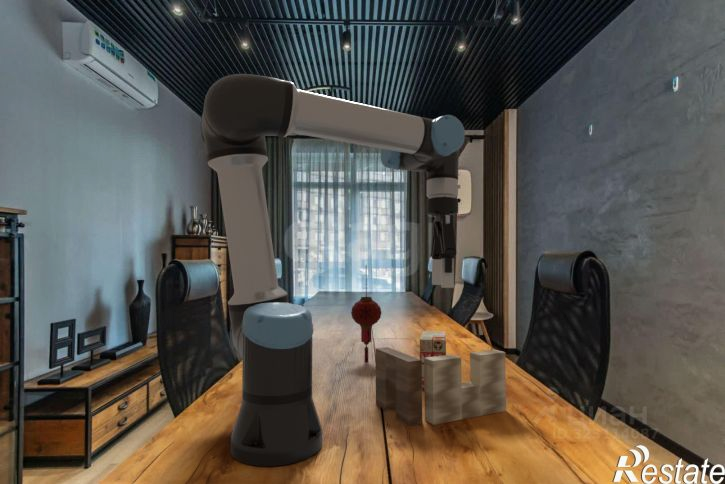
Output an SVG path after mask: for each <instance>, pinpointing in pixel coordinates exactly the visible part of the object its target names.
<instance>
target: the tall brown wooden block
mask: <svg viewBox="0 0 725 484" xmlns="http://www.w3.org/2000/svg"><path fill="white" fill-rule="evenodd" d="M375 404H376V405H377V406H378V407H380V408H381V409H383V410H384V411H391V410H396V419H397V420H398V421H401V422H402V423H403V424H405V425H406V426H409V427H411V426H416V425H417V426H418V425H421V424H423V389H422V360H420V358H417V357H414V356H412V355H409V354H406V353H405V352H401V351H399V350H396V349H393V348H391V347H388V346H385V347H383V346H382V347H375Z"/></svg>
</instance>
